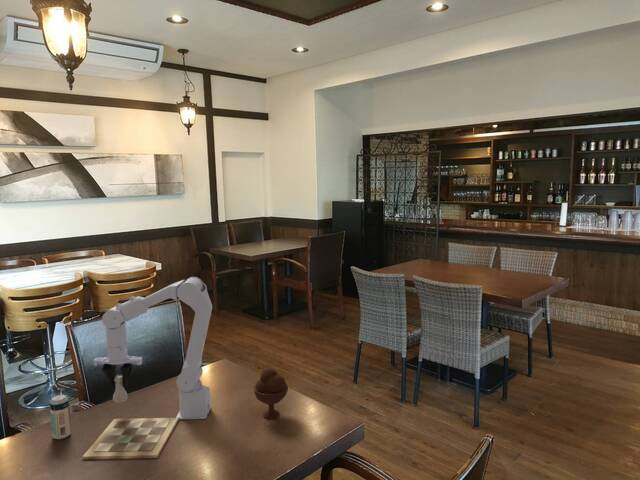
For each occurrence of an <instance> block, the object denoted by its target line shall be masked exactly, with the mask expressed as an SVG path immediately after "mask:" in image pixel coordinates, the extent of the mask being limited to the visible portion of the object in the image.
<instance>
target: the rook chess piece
mask: <svg viewBox="0 0 640 480" xmlns="http://www.w3.org/2000/svg"><path fill="white" fill-rule="evenodd" d="M114 381H115V387H114V388H115V389H114V390H115V391H114V393H113V395H112V401H113V402H114V403H117V404H118V403H119V404H120V403H123V402H126V401H127V400H128V398H129V397H128V393H127V391H126V390H125V387H123V378H122V373H121V374H120V375H119V374H116V376H115V378H114Z"/></svg>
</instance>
